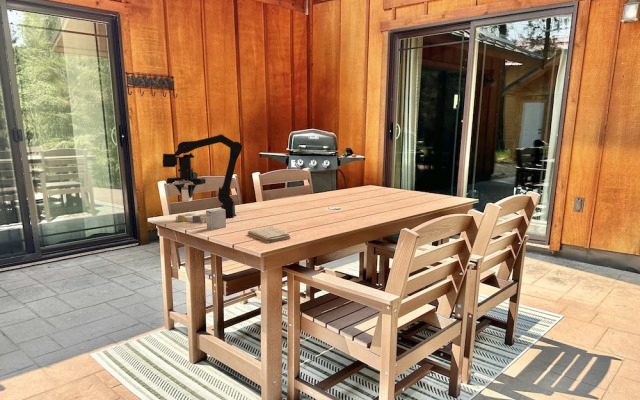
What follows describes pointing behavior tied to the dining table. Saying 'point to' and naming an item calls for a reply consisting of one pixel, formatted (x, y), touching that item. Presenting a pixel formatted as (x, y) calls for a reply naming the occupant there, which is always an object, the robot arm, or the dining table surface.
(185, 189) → the plug
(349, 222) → the dining table surface
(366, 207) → the dining table surface
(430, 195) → the dining table surface
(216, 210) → the medicine box
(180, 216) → the socket block
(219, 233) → the dining table surface
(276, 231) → the washcloth
